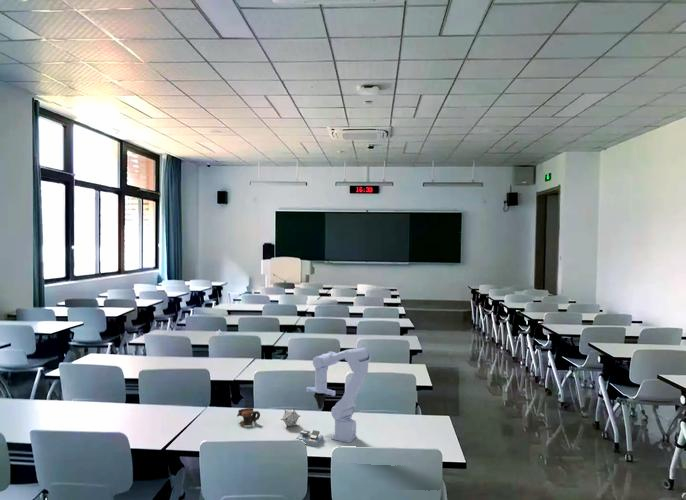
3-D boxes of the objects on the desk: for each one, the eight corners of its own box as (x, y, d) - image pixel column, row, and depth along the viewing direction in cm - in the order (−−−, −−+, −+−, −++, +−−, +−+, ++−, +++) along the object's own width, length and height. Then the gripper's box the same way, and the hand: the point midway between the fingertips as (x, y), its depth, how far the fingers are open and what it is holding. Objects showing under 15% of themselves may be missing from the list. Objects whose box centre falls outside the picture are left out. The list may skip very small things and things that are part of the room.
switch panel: (323, 439, 218) (323, 434, 218) (316, 446, 211) (316, 440, 211) (303, 435, 222) (303, 430, 222) (296, 442, 215) (296, 436, 215)
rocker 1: (309, 433, 218) (310, 430, 219) (306, 435, 215) (306, 432, 215) (304, 431, 220) (304, 429, 220) (300, 434, 216) (300, 431, 216)
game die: (286, 434, 232) (274, 417, 232) (295, 422, 239) (283, 406, 239) (298, 429, 227) (285, 413, 226) (307, 417, 234) (294, 401, 233)
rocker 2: (319, 432, 216) (319, 430, 216) (316, 439, 213) (315, 438, 213) (313, 431, 217) (313, 429, 217) (310, 438, 214) (309, 436, 214)
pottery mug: (234, 427, 231) (233, 410, 234) (242, 429, 239) (241, 412, 243) (258, 423, 229) (256, 405, 233) (265, 424, 238) (263, 407, 241)
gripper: (338, 380, 231) (337, 407, 232) (310, 376, 237) (310, 403, 237) (332, 384, 225) (331, 412, 226) (304, 380, 230) (304, 408, 231)
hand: (320, 408), depth 231 cm, fingers closed
